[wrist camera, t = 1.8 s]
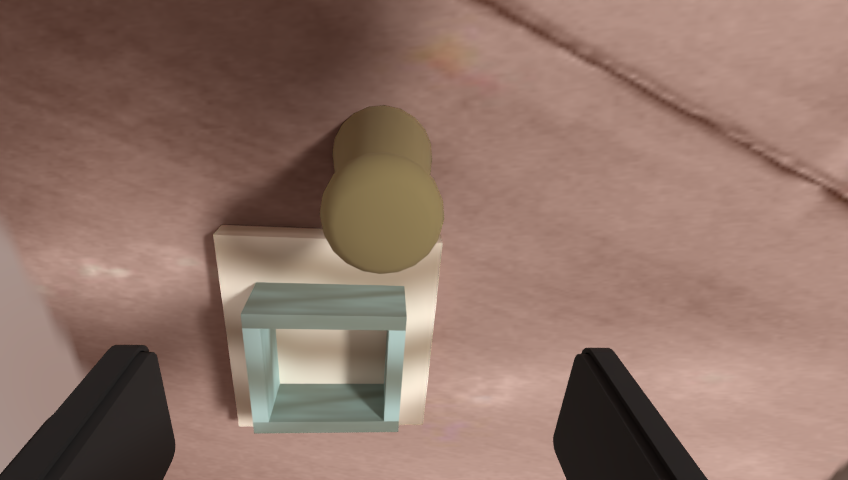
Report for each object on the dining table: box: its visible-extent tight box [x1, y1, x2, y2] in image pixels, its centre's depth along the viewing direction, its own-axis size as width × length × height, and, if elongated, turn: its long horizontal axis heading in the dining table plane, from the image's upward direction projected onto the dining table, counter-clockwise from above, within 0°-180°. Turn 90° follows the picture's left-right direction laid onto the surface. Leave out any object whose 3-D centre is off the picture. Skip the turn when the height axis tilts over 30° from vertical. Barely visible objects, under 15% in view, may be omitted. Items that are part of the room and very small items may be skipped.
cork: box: [320, 105, 444, 274], centre depth 22 cm, size 6×6×11 cm
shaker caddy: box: [213, 225, 443, 433], centre depth 30 cm, size 16×14×5 cm
